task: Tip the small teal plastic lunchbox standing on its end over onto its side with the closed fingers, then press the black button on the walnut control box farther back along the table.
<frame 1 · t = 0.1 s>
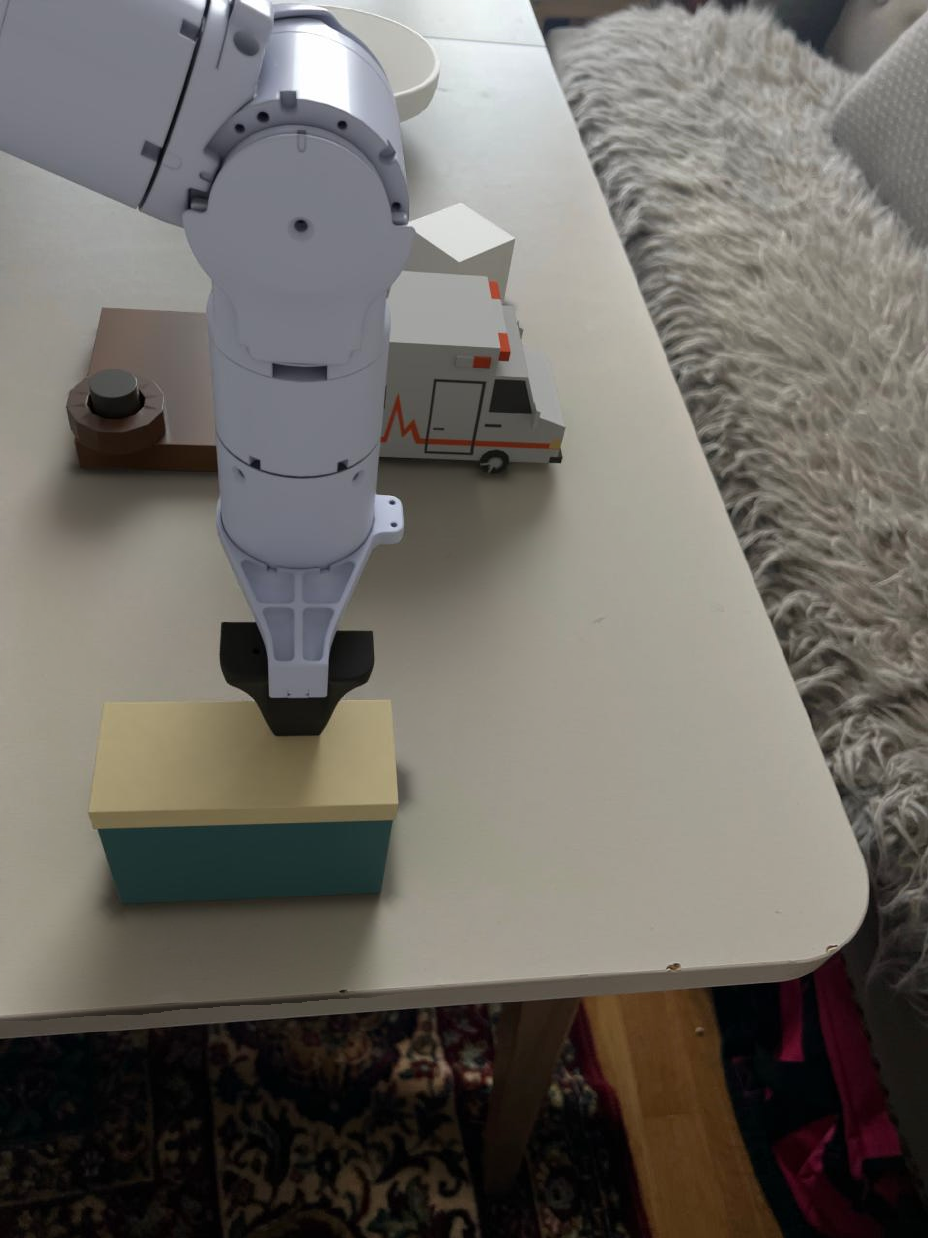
hand: (297, 656, 45), 9 cm above the table, tool pointing down, fingers open, 7 cm apart
control box: (170, 399, 69), on the table
button: (115, 394, 61), point 4 cm above the table, slide at 0.1 cm
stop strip: (256, 789, 51), on the table
white cube: (450, 302, 80), on the table
bowl: (330, 130, 96), on the table
toy vehicle: (428, 434, 70), on the table
lunchbox: (255, 849, 49), on the table
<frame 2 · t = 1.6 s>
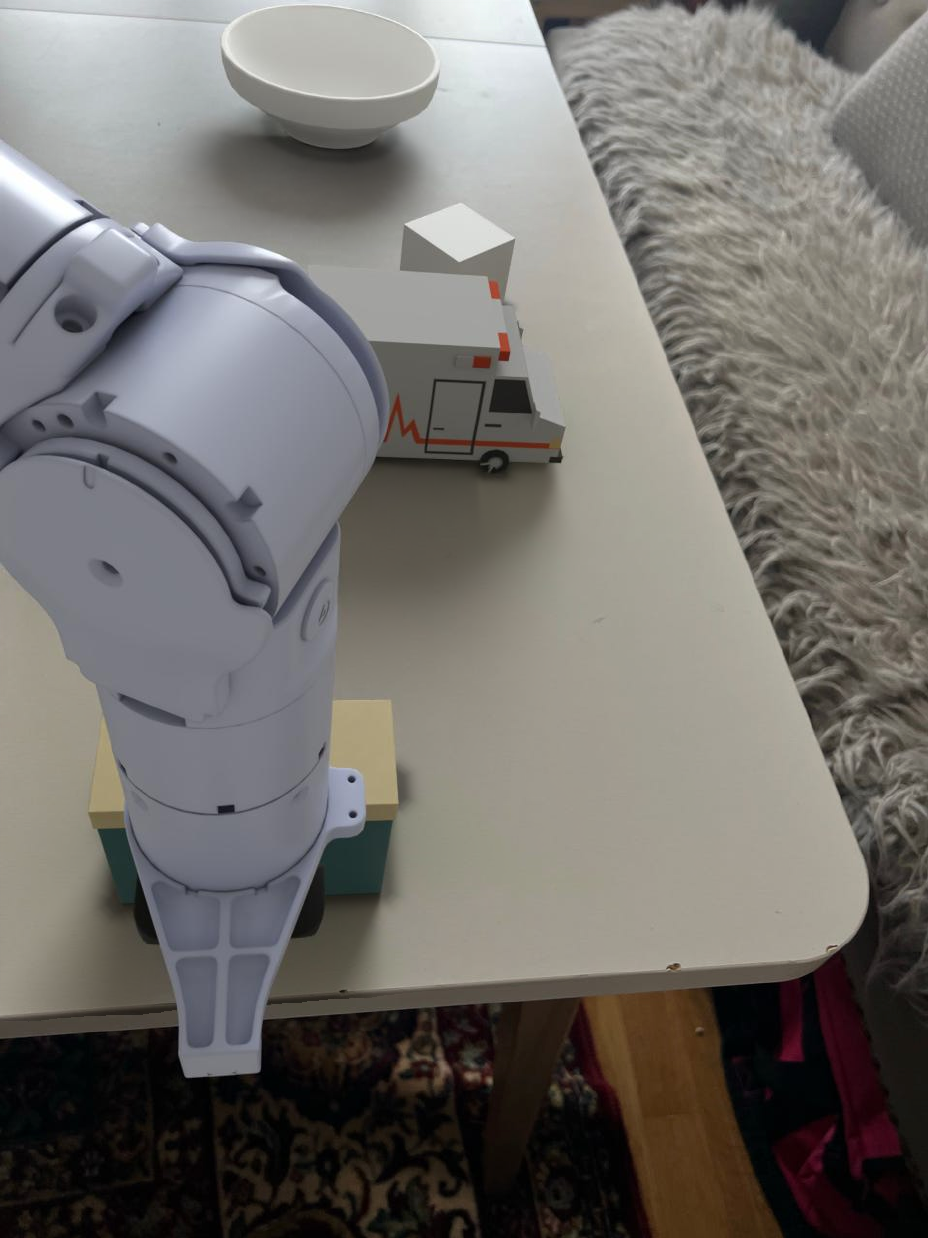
hand: (242, 922, 37), 9 cm above the table, tool pointing down, fingers closed
nothing on the table moved.
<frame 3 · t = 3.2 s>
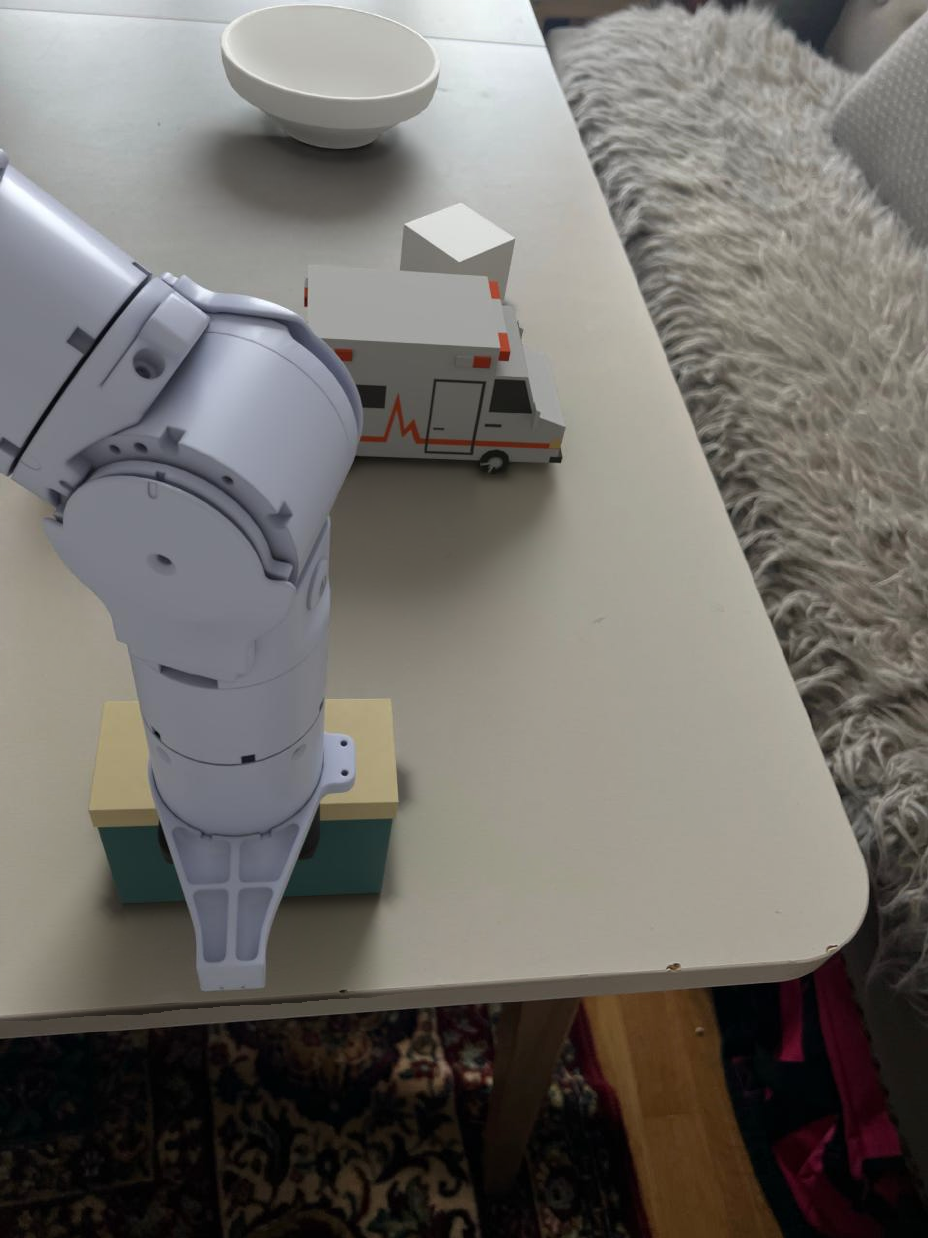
hand: (248, 875, 42), 6 cm above the table, tool pointing down, fingers closed
lunchbox: (255, 849, 49), on the table, touching gripper
everything else where it was.
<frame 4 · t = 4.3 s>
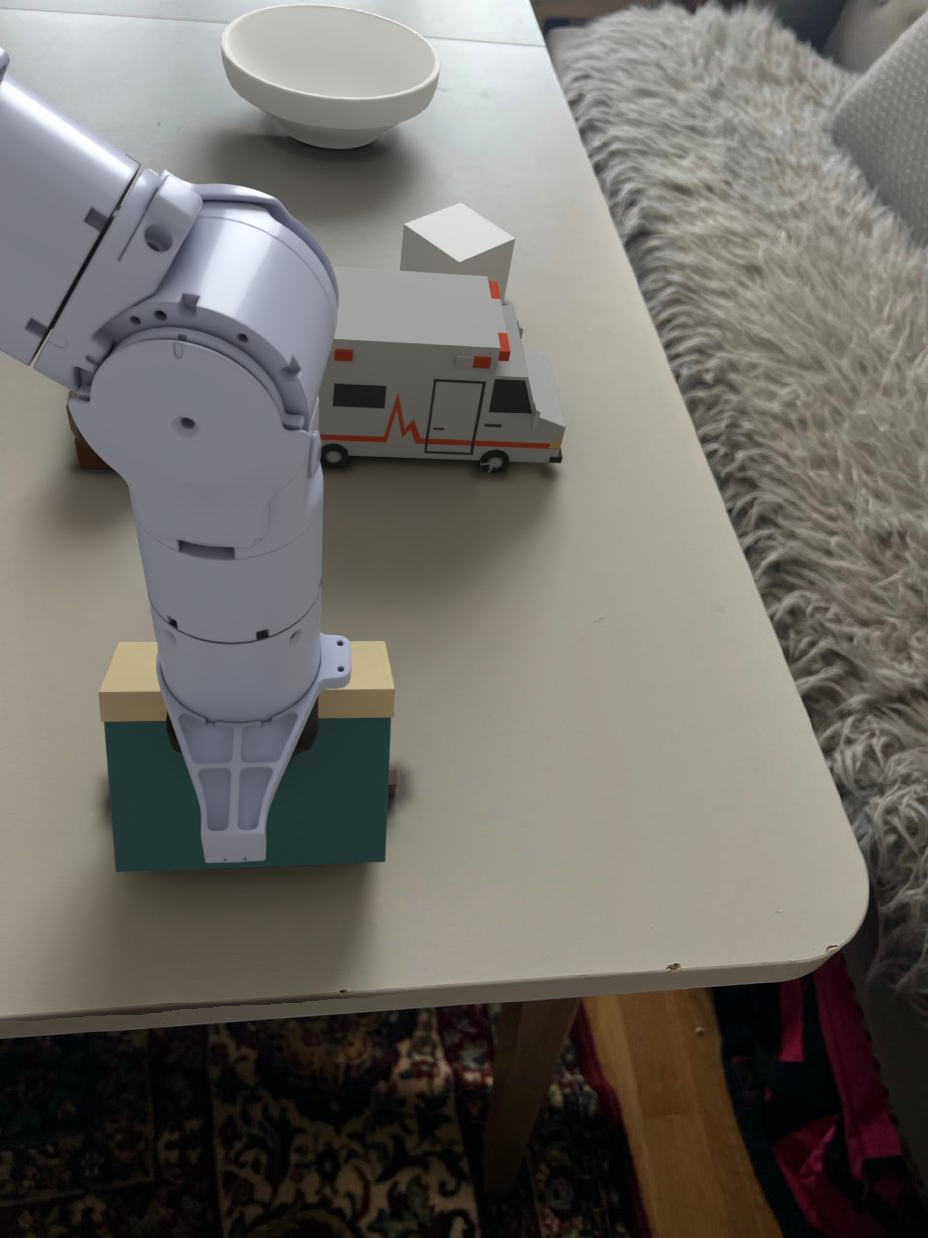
hand: (252, 783, 44), 6 cm above the table, tool pointing down, fingers closed, pressing on lunchbox
lunchbox: (255, 836, 48), point 1 cm above the table, tilted 29°, touching gripper, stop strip
everything else where it was.
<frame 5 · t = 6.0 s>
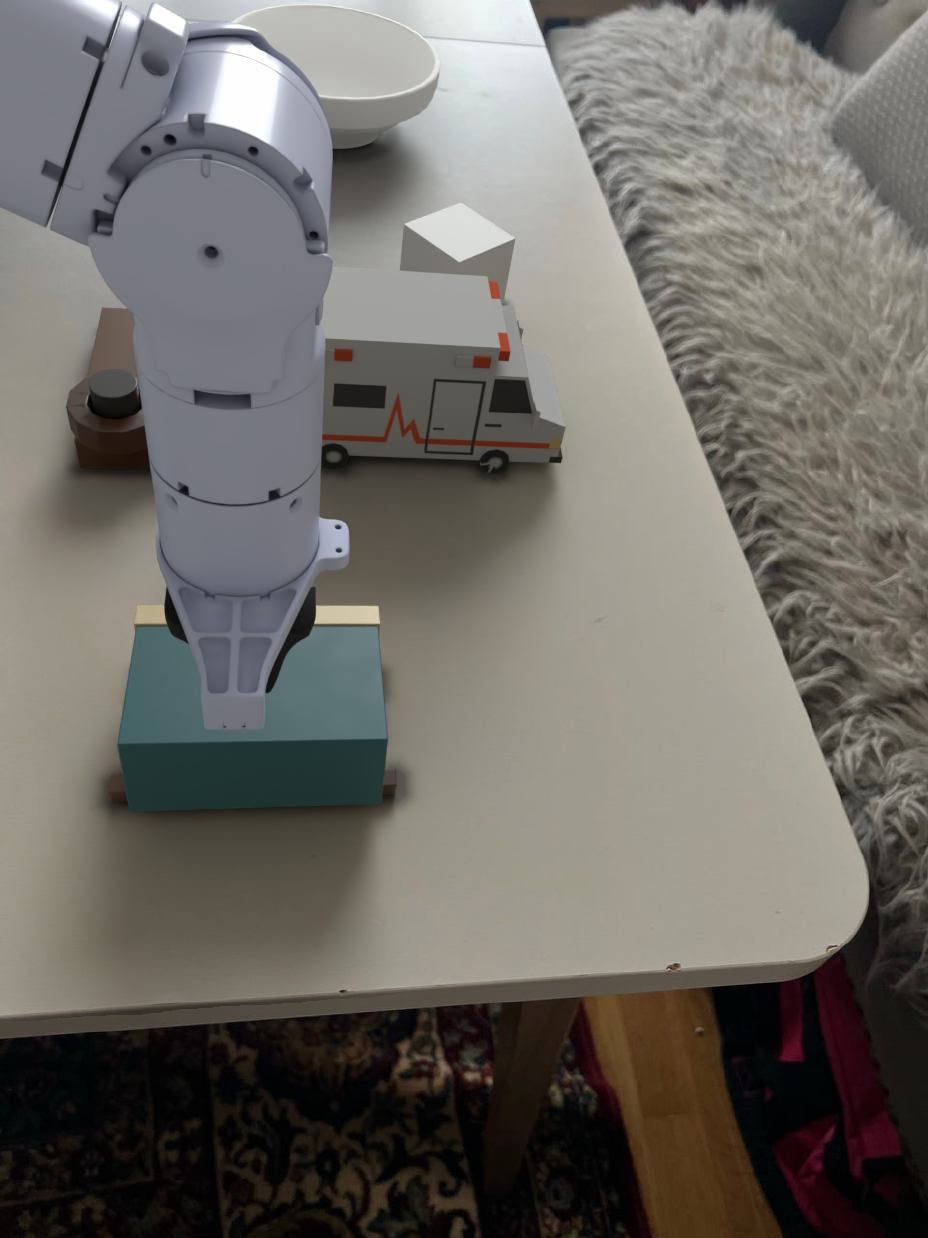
hand: (248, 680, 44), 9 cm above the table, tool pointing down, fingers closed
lunchbox: (256, 776, 47), point 4 cm above the table, tilted 98°, touching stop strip
everything else where it was.
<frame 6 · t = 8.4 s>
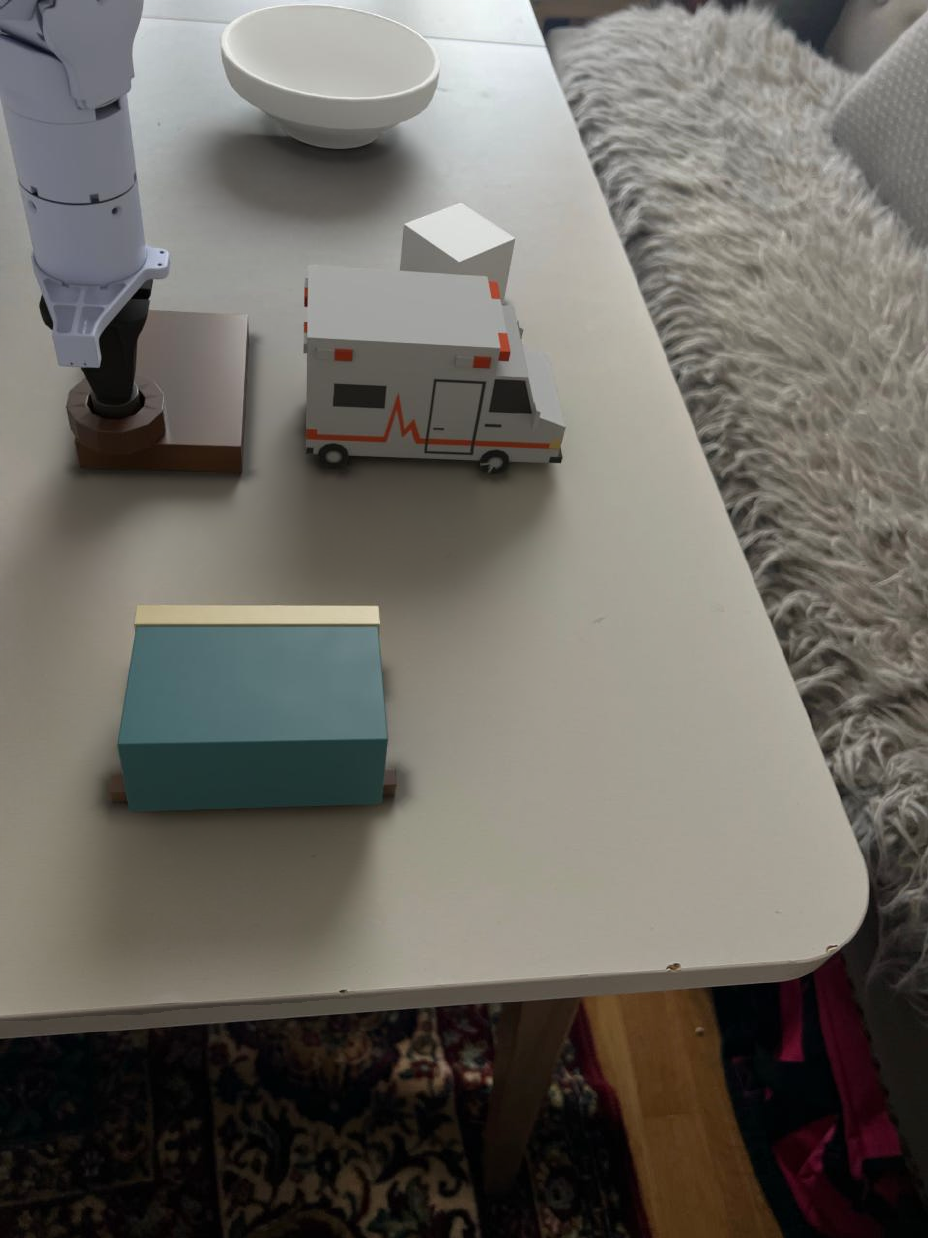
hand: (114, 390, 61), 5 cm above the table, tool pointing down, fingers closed, pressing on button
button: (116, 402, 62), point 4 cm above the table, slide at -0.5 cm, touching gripper
everything else where it was.
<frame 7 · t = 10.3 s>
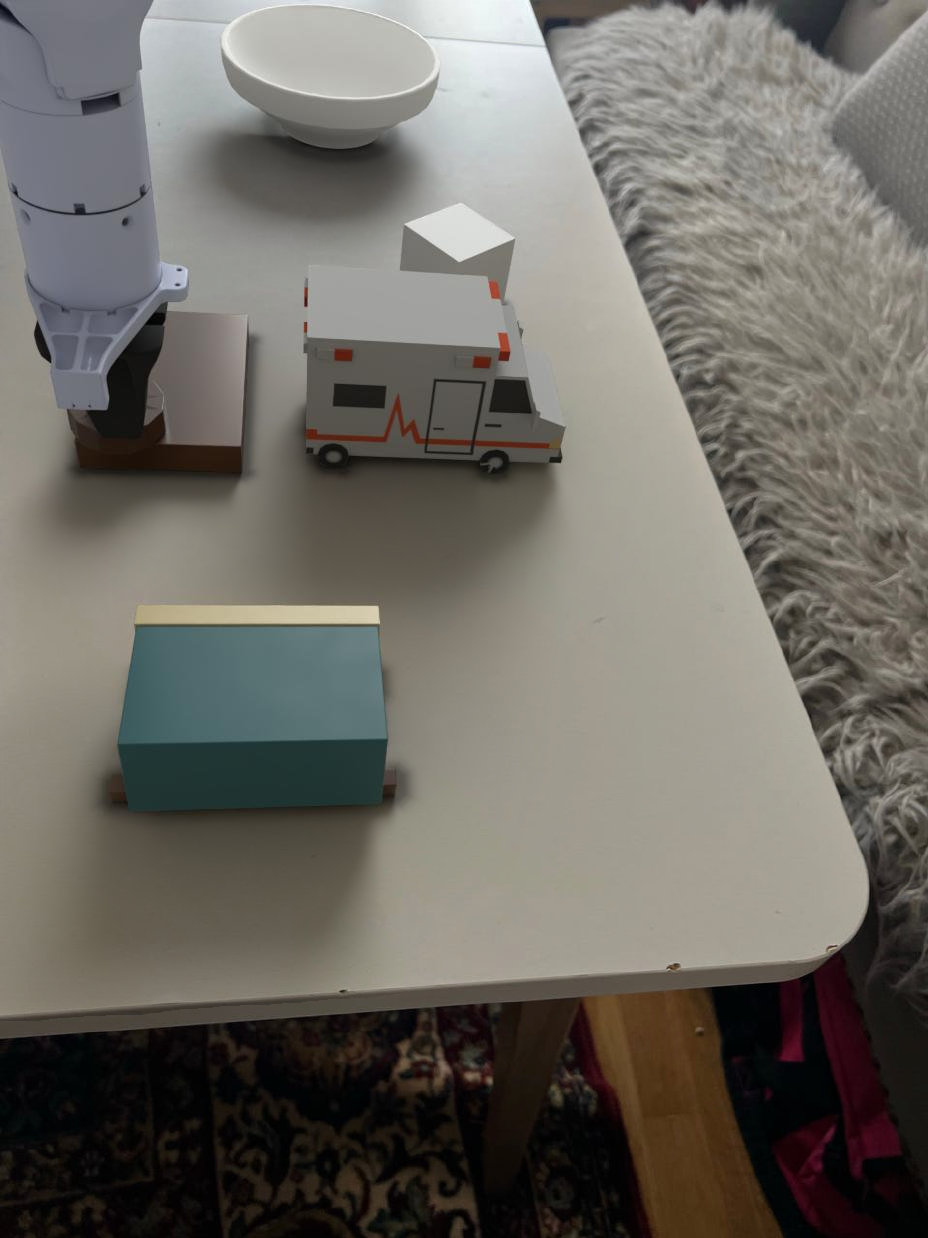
hand: (122, 429, 53), 9 cm above the table, tool pointing down, fingers closed
button: (115, 394, 61), point 4 cm above the table, slide at 0.1 cm
everything else where it was.
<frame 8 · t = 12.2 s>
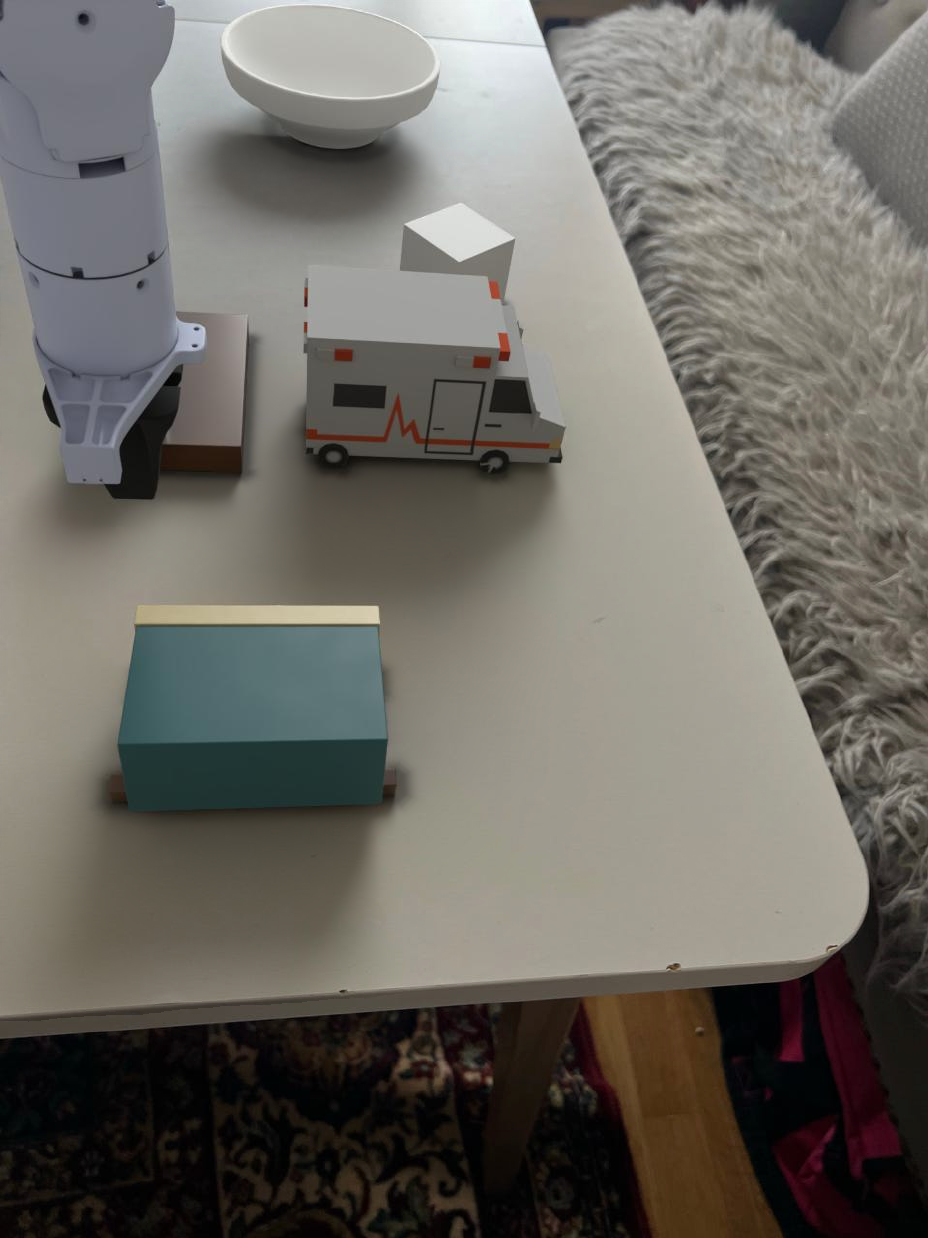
hand: (134, 489, 50), 9 cm above the table, tool pointing down, fingers closed
nothing on the table moved.
at the end: lunchbox tilted 98°; button pushed in 1.2 cm at the most during the clip, back to where it started at the end; button slide at 0.1 cm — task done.
